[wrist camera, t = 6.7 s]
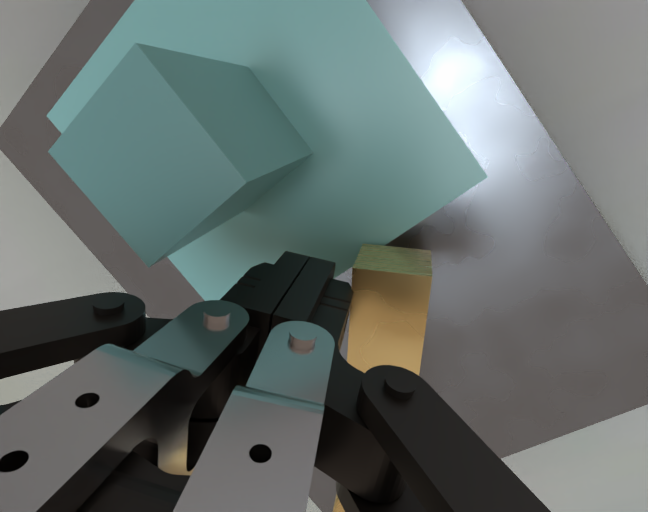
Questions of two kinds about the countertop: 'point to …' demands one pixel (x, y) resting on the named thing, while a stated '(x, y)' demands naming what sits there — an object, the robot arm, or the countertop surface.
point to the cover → (256, 135)
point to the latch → (388, 309)
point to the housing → (436, 244)
